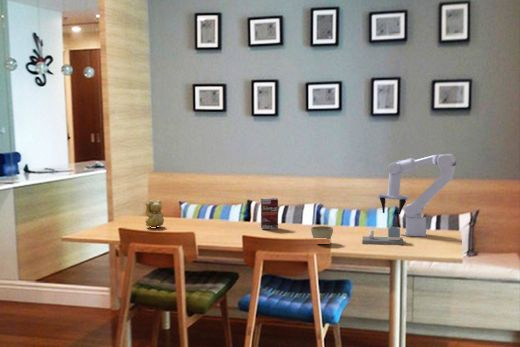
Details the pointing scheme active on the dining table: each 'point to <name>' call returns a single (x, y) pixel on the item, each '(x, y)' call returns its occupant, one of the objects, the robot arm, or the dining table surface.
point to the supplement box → (269, 213)
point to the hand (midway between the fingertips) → (391, 213)
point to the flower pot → (322, 232)
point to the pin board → (380, 240)
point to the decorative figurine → (154, 214)
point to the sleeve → (393, 233)
